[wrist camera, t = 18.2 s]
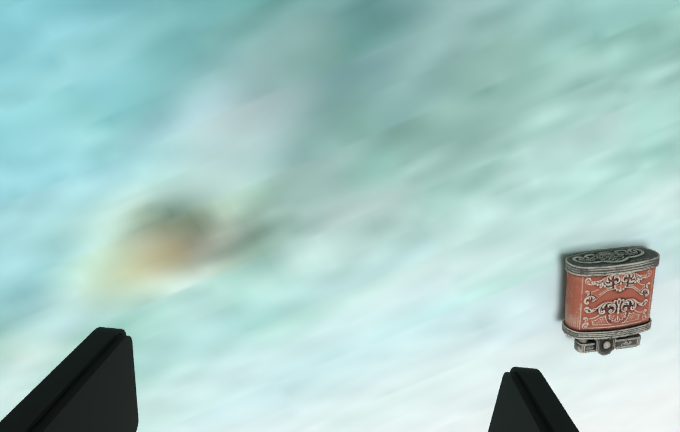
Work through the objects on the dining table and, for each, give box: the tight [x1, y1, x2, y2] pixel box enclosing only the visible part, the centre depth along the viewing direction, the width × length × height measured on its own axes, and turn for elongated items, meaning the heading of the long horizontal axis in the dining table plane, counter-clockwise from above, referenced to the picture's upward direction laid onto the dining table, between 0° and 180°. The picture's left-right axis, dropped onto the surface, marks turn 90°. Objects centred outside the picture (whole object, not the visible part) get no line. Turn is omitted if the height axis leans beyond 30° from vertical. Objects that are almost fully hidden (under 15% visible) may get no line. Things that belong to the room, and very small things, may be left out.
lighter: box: [562, 247, 660, 355], centre depth 39 cm, size 8×3×10 cm
